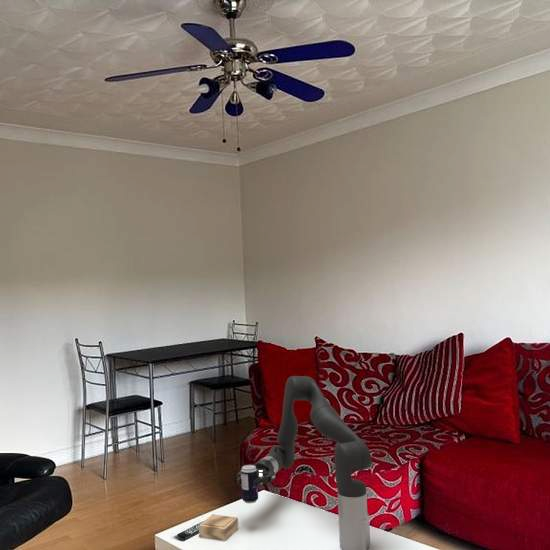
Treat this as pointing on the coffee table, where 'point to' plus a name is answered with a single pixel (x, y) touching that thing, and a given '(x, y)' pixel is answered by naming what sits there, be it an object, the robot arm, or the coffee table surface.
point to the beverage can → (249, 483)
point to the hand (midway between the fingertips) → (246, 483)
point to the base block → (218, 527)
